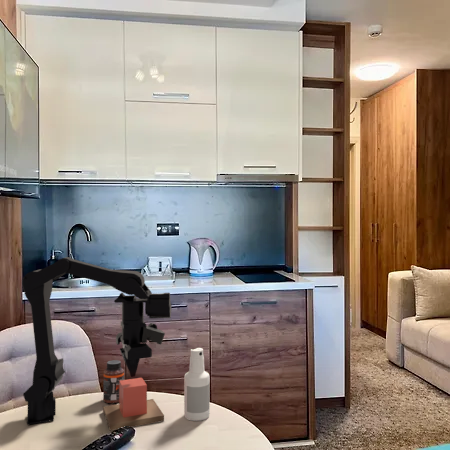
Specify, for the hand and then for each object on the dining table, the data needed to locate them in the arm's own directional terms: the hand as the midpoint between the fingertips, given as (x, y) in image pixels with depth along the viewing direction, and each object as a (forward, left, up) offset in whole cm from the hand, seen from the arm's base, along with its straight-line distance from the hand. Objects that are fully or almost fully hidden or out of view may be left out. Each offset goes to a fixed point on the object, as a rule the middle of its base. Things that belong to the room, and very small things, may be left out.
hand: (132, 376), depth 119 cm
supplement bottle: (-3, +14, -11) cm, 18 cm away
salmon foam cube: (0, 0, -9) cm, 9 cm away
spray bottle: (+16, -6, -11) cm, 20 cm away
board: (0, 0, -11) cm, 11 cm away
